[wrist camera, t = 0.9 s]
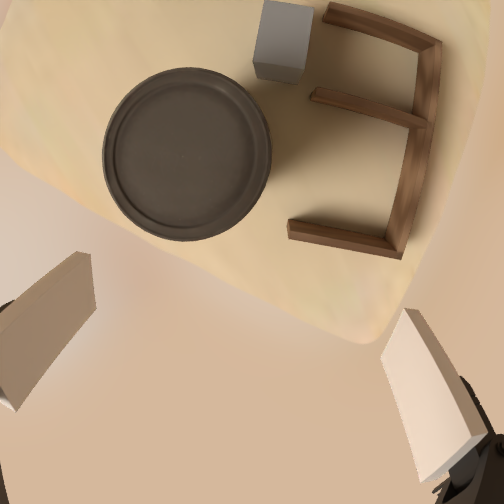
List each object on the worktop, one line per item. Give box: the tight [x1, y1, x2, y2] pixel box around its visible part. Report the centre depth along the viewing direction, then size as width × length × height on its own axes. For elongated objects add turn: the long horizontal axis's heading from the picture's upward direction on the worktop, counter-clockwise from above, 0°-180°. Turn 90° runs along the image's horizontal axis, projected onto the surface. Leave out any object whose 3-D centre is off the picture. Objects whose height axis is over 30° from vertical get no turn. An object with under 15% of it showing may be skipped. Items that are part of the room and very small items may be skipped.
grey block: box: [253, 0, 314, 85], centre depth 22 cm, size 6×4×7 cm, turn 171°
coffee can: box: [102, 67, 272, 242], centre depth 22 cm, size 10×10×14 cm
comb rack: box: [287, 2, 442, 260], centre depth 25 cm, size 23×12×4 cm, turn 171°
